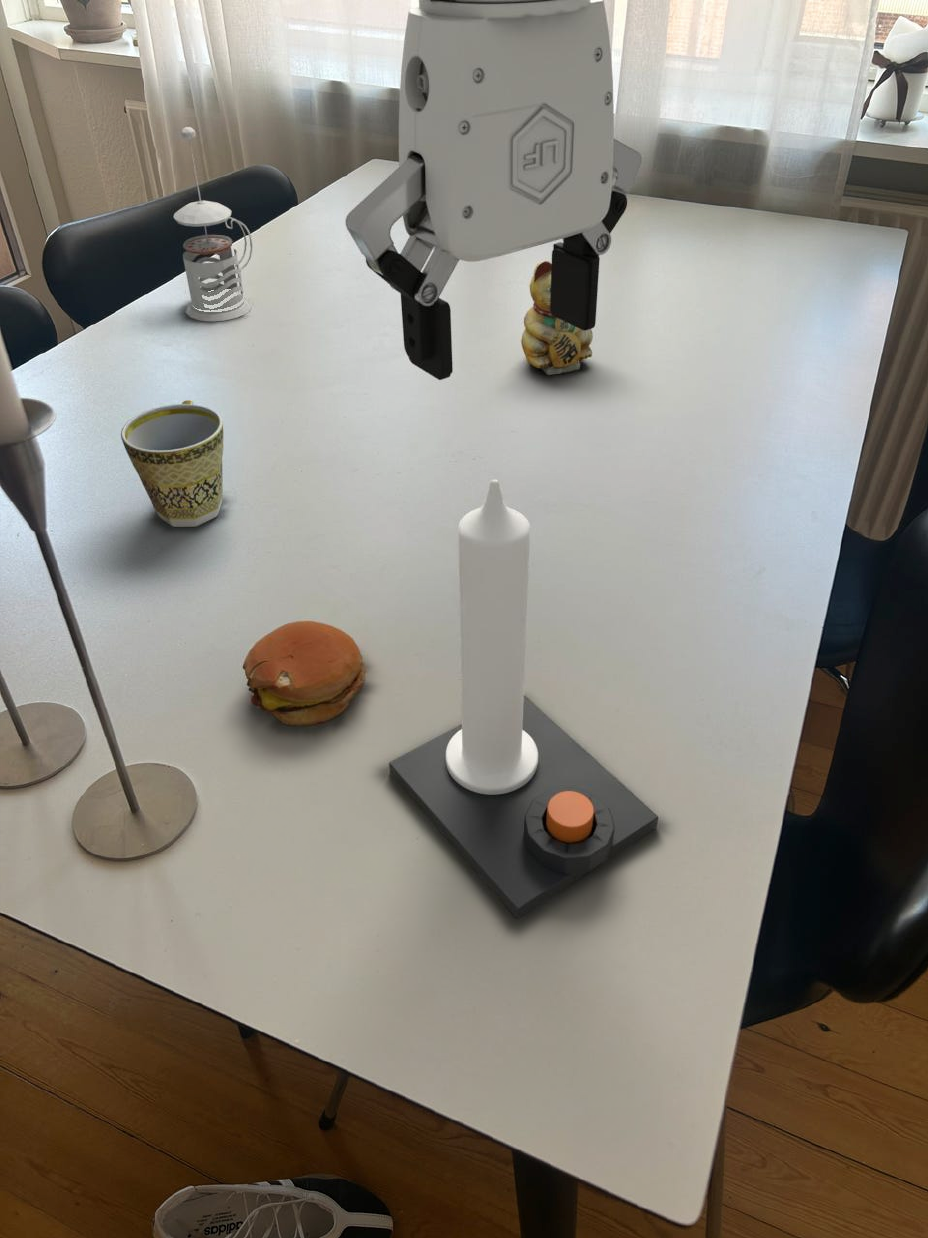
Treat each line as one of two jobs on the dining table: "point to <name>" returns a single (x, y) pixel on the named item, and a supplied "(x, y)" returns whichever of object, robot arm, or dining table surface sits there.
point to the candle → (492, 650)
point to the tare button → (569, 816)
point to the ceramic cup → (178, 460)
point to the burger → (304, 672)
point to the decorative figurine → (551, 331)
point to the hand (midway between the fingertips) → (504, 345)
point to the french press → (220, 245)
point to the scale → (525, 814)
